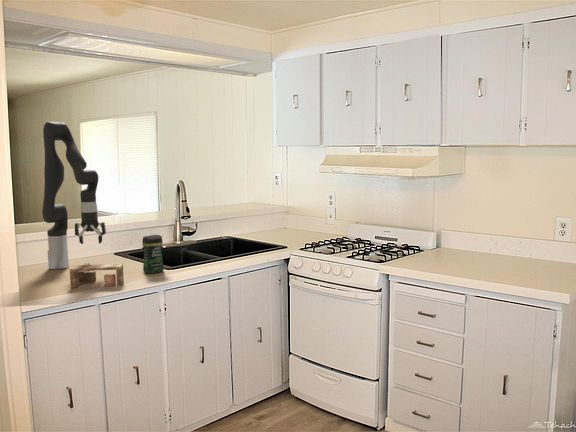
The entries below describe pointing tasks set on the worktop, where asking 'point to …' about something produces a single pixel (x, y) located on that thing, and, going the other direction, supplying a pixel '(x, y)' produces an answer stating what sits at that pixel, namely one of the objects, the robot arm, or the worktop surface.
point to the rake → (87, 275)
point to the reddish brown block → (110, 279)
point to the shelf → (74, 270)
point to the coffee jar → (152, 254)
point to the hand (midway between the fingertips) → (91, 243)
